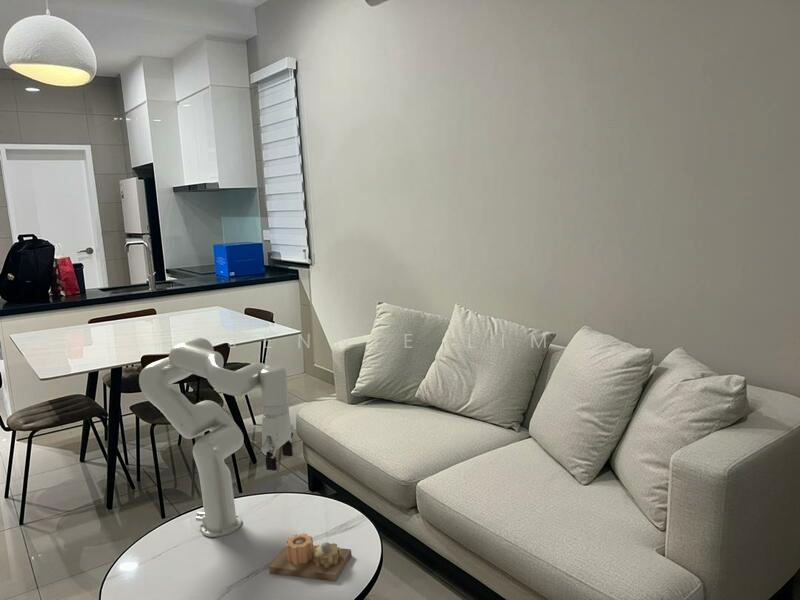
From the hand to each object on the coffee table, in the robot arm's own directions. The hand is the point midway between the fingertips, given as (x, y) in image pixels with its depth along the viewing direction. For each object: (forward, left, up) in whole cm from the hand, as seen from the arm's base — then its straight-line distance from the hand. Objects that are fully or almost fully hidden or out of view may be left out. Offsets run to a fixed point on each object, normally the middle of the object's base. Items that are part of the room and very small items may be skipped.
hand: (279, 462), depth 183 cm
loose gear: (+10, -11, -23) cm, 27 cm away
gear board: (+13, -11, -25) cm, 30 cm away
